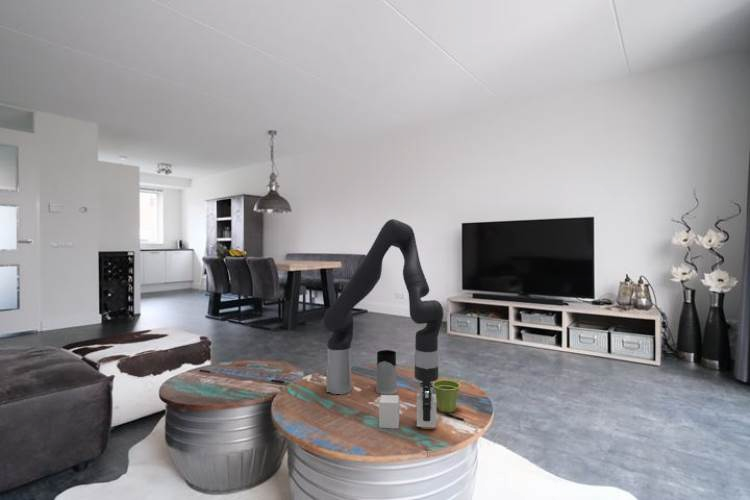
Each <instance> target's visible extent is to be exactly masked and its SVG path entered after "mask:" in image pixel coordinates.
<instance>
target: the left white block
mask: <svg viewBox="0 0 750 500" xmlns="http://www.w3.org/2000/svg"><path fill="white" fill-rule="evenodd" d="M378 409H379V413H378V414H379V415H378V416H379V418H378V419H379V421H378V422H379V423H378V424H379V429H380V428H381V429H399V427H400V426H399V425H400V395H394V394H387V395H386V394H380V398H379V401H378Z"/></svg>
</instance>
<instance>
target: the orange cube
mask: <svg viewBox="0 0 750 500" xmlns="http://www.w3.org/2000/svg"><path fill="white" fill-rule="evenodd" d="M420 429H422V430H423V429H426V430H434V429H435V428H434V427H420Z"/></svg>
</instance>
